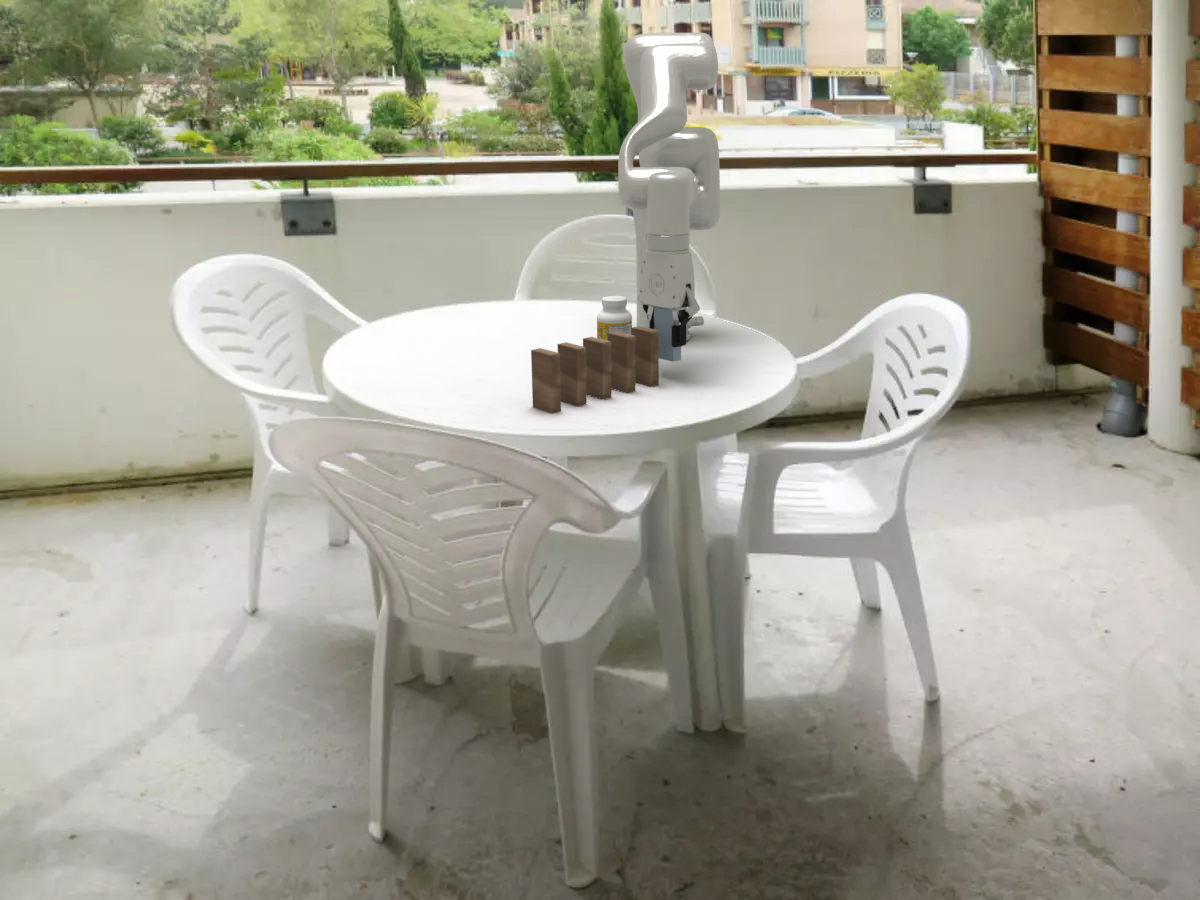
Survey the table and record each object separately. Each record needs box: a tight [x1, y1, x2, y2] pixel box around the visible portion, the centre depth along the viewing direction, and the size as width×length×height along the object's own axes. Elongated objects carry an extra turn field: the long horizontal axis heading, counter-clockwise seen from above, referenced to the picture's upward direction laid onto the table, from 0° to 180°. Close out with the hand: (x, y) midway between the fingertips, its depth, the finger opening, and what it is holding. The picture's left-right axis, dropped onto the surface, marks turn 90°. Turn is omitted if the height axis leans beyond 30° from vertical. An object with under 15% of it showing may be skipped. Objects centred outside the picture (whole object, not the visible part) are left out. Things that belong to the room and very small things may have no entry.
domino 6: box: [654, 307, 682, 363], centre depth 234 cm, size 2×5×10 cm, turn 42°
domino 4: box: [607, 331, 636, 394], centre depth 229 cm, size 2×5×10 cm, turn 42°
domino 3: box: [582, 336, 612, 400], centre depth 225 cm, size 2×5×10 cm, turn 42°
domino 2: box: [557, 342, 588, 407], centre depth 221 cm, size 2×5×10 cm, turn 42°
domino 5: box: [631, 325, 660, 388], centre depth 232 cm, size 2×5×10 cm, turn 42°
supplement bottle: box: [596, 295, 633, 340], centre depth 245 cm, size 7×7×13 cm
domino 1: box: [530, 347, 562, 414], centre depth 217 cm, size 2×5×10 cm, turn 42°
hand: (667, 342), depth 235 cm, fingers closed on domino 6, 4 cm apart
